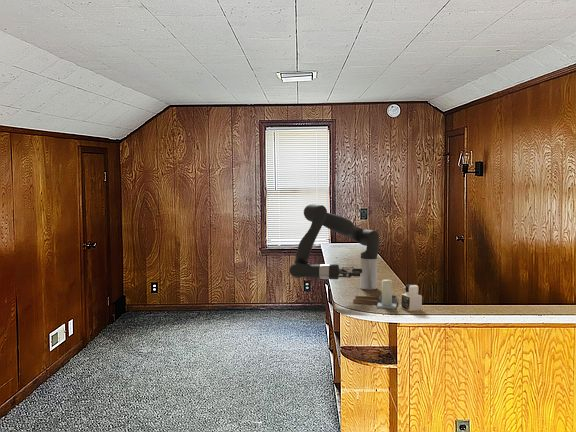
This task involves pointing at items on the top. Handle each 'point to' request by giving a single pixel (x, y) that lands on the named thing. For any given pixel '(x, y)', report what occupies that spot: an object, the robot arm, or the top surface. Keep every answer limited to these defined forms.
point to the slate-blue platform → (387, 306)
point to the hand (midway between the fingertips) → (361, 272)
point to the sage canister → (387, 292)
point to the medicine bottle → (411, 298)
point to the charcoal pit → (394, 299)
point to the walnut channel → (366, 299)
